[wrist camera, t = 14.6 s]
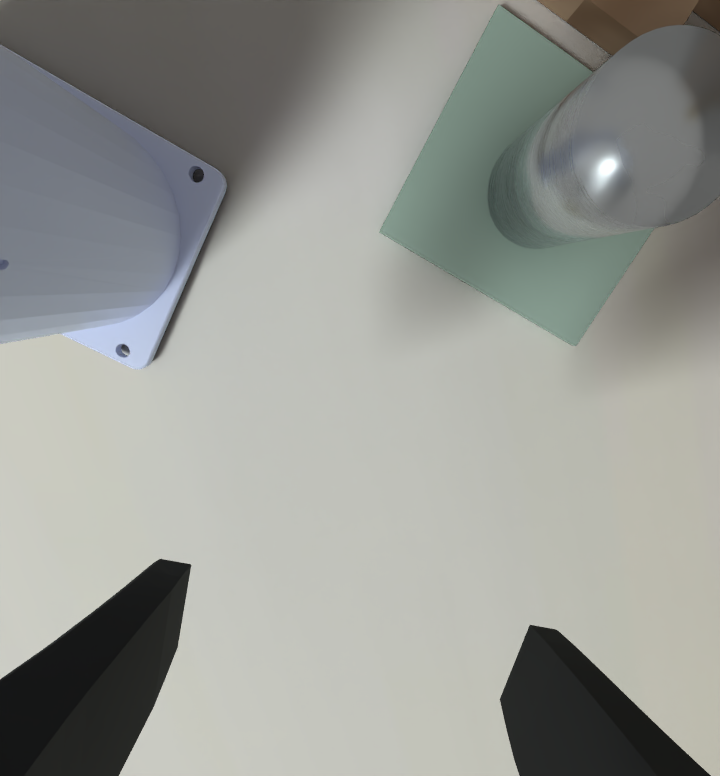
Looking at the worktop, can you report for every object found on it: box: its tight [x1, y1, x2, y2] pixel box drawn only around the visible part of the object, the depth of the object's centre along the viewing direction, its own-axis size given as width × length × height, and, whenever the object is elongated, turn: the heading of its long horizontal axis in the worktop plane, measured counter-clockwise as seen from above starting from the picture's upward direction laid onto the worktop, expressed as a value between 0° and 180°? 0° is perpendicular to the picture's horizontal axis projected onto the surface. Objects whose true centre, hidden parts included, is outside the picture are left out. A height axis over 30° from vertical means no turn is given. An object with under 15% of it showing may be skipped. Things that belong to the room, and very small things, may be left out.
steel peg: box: [487, 25, 720, 249], centre depth 12 cm, size 4×4×6 cm
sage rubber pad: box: [380, 5, 654, 346], centre depth 15 cm, size 9×8×1 cm
